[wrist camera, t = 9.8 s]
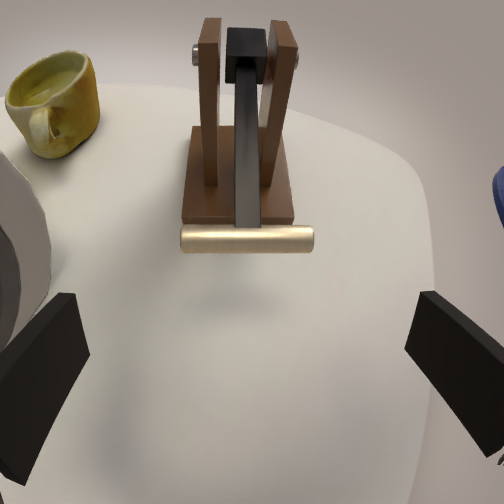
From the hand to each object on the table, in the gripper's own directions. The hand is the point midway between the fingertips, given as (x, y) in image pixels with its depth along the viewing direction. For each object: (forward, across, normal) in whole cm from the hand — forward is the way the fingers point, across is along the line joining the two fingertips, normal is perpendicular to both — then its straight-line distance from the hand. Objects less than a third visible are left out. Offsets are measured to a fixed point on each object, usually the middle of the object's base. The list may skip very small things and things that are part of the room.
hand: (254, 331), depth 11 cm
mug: (+20, -18, +8) cm, 28 cm away
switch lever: (+7, 0, +7) cm, 10 cm away
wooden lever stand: (+16, 0, +4) cm, 17 cm away
